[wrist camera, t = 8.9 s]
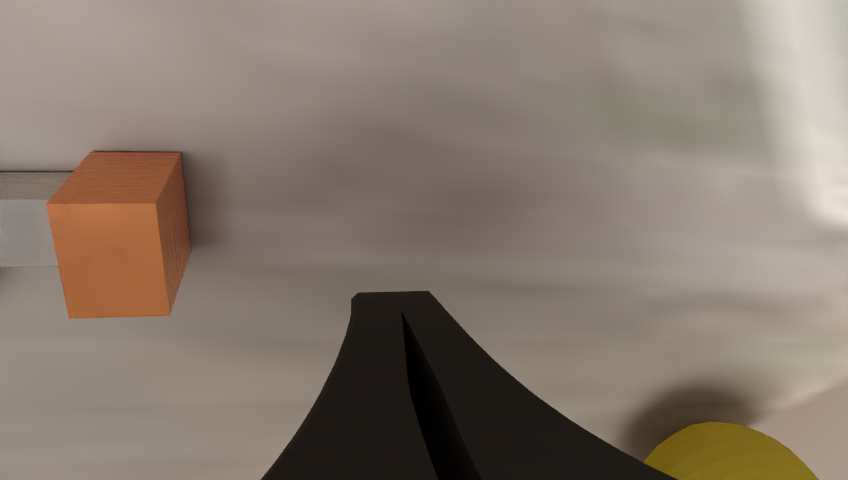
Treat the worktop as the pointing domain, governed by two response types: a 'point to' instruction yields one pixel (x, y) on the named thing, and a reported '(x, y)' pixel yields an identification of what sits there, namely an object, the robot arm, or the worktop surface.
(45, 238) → the pin
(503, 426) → the robot arm
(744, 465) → the lemon
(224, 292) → the worktop surface
